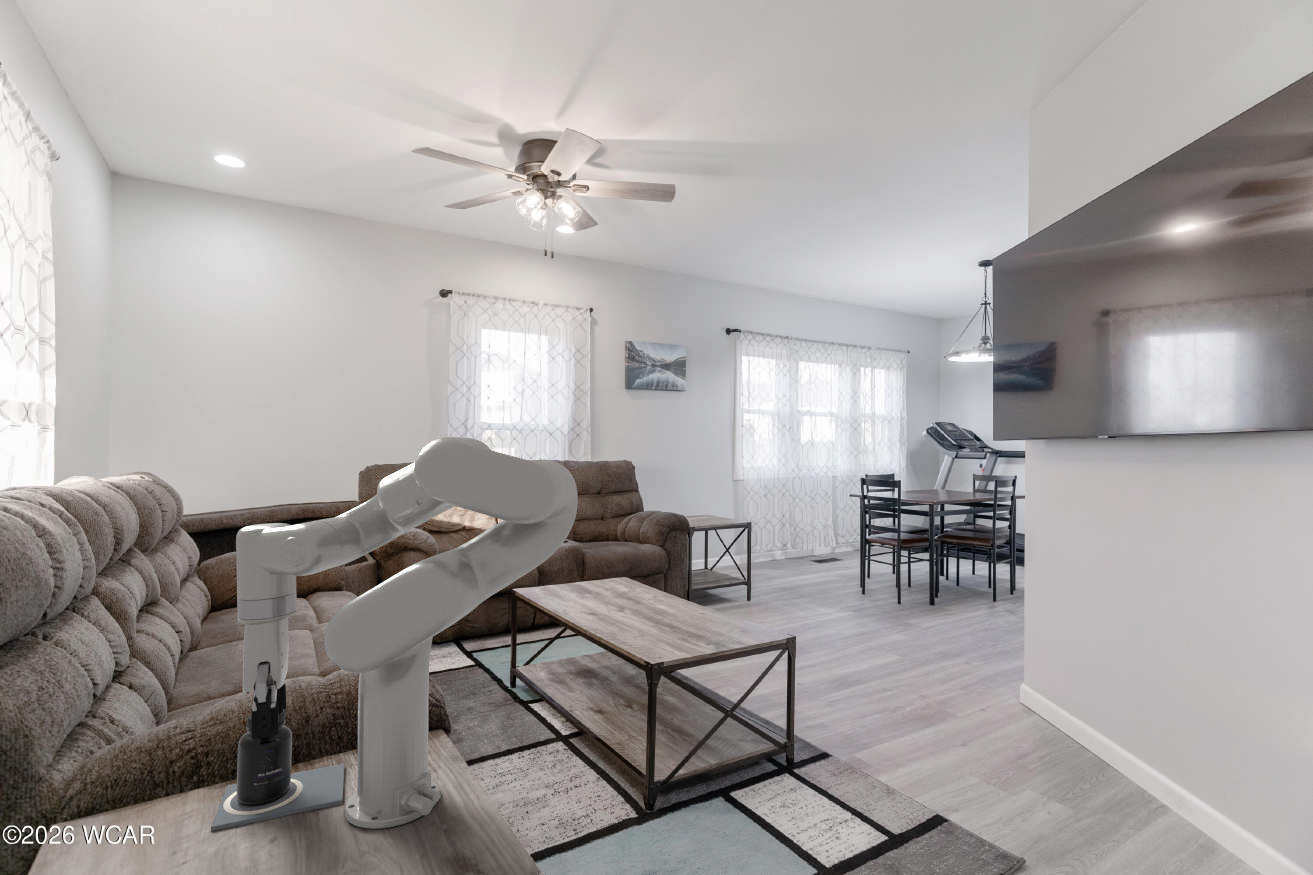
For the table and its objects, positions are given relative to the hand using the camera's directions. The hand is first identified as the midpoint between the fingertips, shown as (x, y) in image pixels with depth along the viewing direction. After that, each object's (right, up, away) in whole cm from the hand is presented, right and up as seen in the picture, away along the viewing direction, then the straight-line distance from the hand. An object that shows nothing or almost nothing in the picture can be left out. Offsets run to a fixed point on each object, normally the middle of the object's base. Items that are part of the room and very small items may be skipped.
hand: (270, 723), depth 94 cm
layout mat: (+2, -11, +1) cm, 11 cm away
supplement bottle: (-1, -11, 0) cm, 11 cm away
